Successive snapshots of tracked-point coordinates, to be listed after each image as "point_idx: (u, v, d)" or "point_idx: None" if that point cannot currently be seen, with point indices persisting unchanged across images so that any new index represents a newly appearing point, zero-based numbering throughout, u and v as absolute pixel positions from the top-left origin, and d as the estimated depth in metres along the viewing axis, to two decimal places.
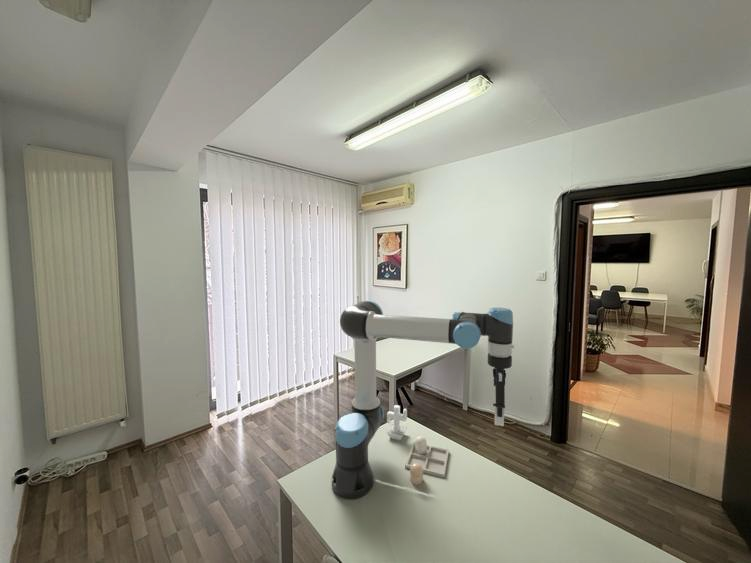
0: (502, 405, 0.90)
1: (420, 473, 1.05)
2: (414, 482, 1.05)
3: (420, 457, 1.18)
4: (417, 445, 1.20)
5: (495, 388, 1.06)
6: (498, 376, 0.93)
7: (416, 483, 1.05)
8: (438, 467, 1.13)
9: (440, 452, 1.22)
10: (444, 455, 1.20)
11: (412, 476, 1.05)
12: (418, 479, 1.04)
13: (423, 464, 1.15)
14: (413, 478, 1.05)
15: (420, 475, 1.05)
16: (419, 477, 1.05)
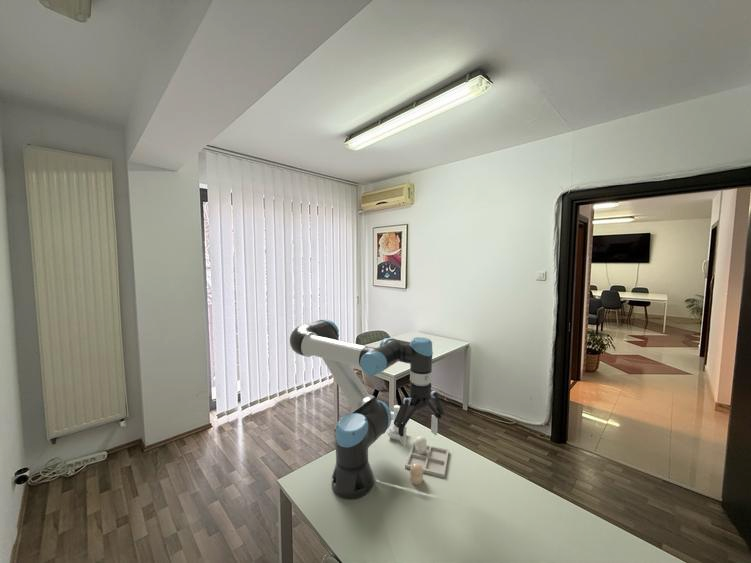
0: (396, 424, 1.00)
1: (420, 473, 1.05)
2: (414, 482, 1.05)
3: (420, 457, 1.18)
4: (417, 445, 1.20)
5: (432, 416, 1.09)
6: (403, 399, 1.02)
7: (416, 483, 1.05)
8: (438, 467, 1.13)
9: (440, 452, 1.22)
10: (444, 455, 1.20)
11: (412, 476, 1.05)
12: (418, 479, 1.04)
13: (423, 464, 1.15)
14: (413, 478, 1.05)
15: (420, 475, 1.05)
16: (419, 477, 1.05)
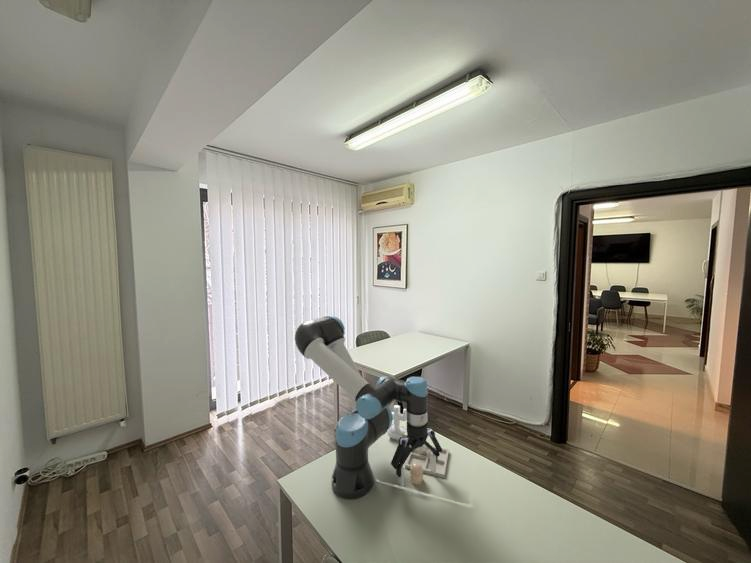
0: (393, 465, 1.01)
1: (420, 473, 1.05)
2: (414, 482, 1.05)
3: (420, 457, 1.18)
4: None
5: (431, 454, 1.09)
6: (400, 439, 1.03)
7: (416, 483, 1.05)
8: (438, 467, 1.13)
9: (440, 452, 1.22)
10: (444, 455, 1.20)
11: (412, 476, 1.05)
12: (418, 479, 1.04)
13: (423, 464, 1.15)
14: (413, 478, 1.05)
15: (420, 475, 1.05)
16: (419, 477, 1.05)
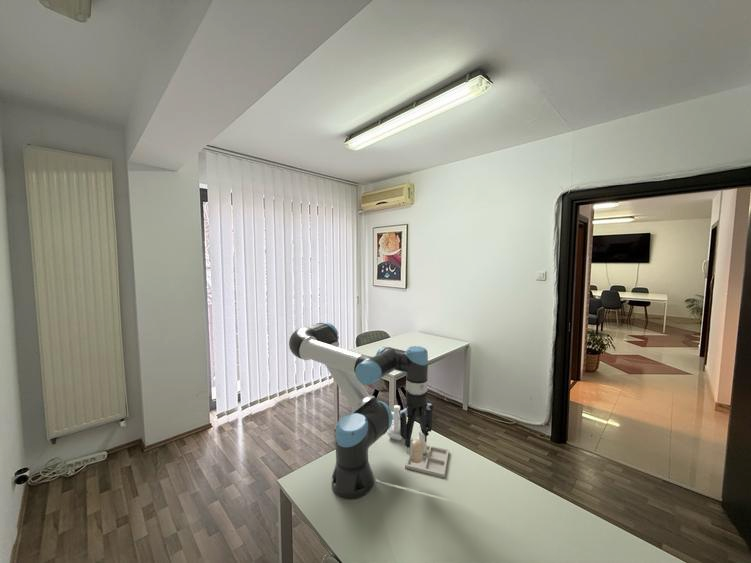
0: (403, 436, 1.02)
1: (420, 449, 1.04)
2: (413, 458, 1.04)
3: None
4: None
5: (420, 433, 1.07)
6: (399, 412, 1.02)
7: (416, 459, 1.04)
8: (438, 467, 1.13)
9: (440, 452, 1.22)
10: (444, 455, 1.20)
11: None
12: (418, 455, 1.04)
13: (423, 464, 1.15)
14: None
15: (420, 451, 1.04)
16: (419, 453, 1.04)
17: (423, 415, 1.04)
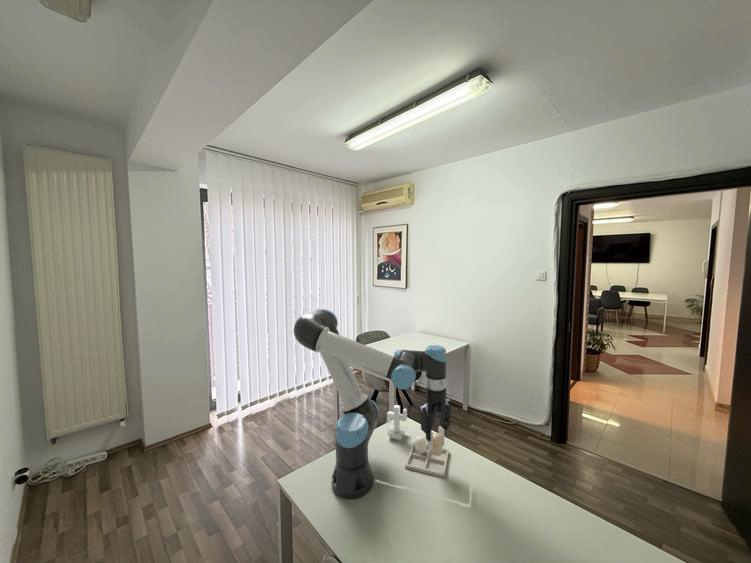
0: (424, 430, 1.09)
1: (440, 442, 1.10)
2: (434, 451, 1.10)
3: (420, 457, 1.18)
4: (417, 445, 1.20)
5: (439, 427, 1.13)
6: (420, 408, 1.09)
7: (436, 452, 1.10)
8: (438, 467, 1.13)
9: None
10: (444, 455, 1.20)
11: None
12: (438, 448, 1.10)
13: (423, 464, 1.15)
14: (433, 447, 1.10)
15: (440, 444, 1.10)
16: (439, 446, 1.10)
17: (442, 410, 1.10)
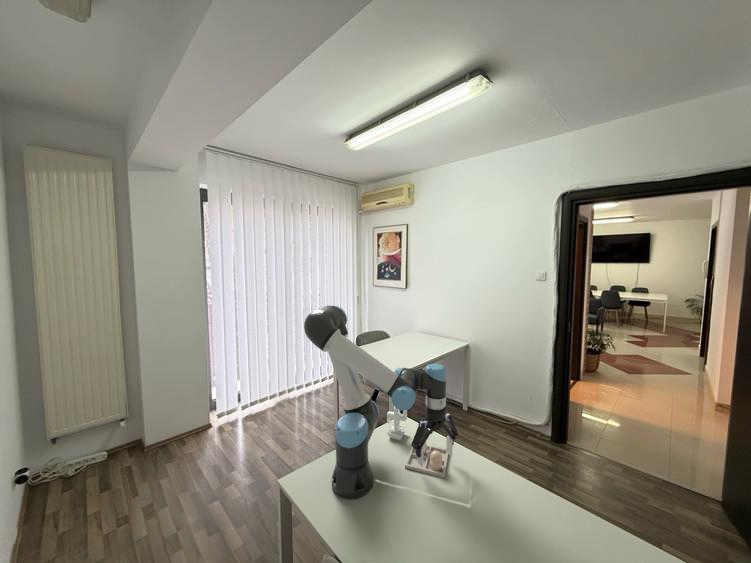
0: (414, 446, 1.07)
1: (440, 460, 1.10)
2: (434, 468, 1.10)
3: None
4: None
5: (447, 437, 1.16)
6: (419, 422, 1.09)
7: (436, 469, 1.10)
8: None
9: (440, 452, 1.22)
10: (444, 455, 1.20)
11: (432, 462, 1.11)
12: (438, 465, 1.10)
13: (423, 464, 1.15)
14: (433, 464, 1.11)
15: (440, 461, 1.10)
16: (439, 463, 1.10)
17: (444, 426, 1.11)
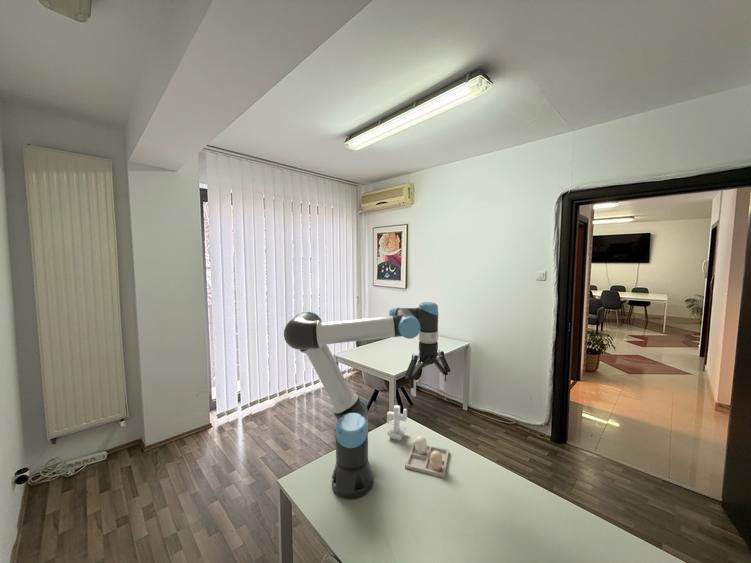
0: (407, 377, 1.14)
1: (440, 460, 1.10)
2: (434, 468, 1.10)
3: (420, 457, 1.18)
4: (417, 445, 1.20)
5: (440, 374, 1.22)
6: (412, 355, 1.16)
7: (436, 469, 1.10)
8: None
9: (440, 452, 1.22)
10: (444, 455, 1.20)
11: (432, 462, 1.11)
12: (438, 465, 1.10)
13: (423, 464, 1.15)
14: (433, 464, 1.11)
15: (440, 461, 1.10)
16: (439, 463, 1.10)
17: (436, 361, 1.18)
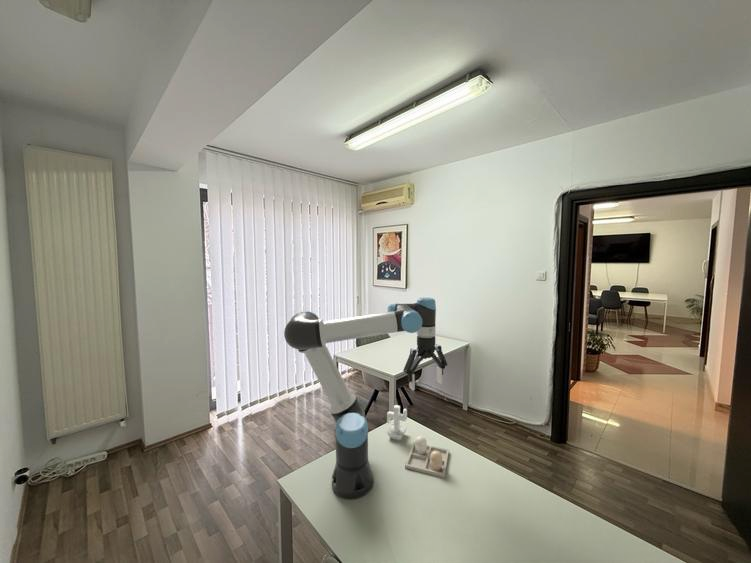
0: (405, 371, 1.16)
1: (440, 460, 1.10)
2: (434, 468, 1.10)
3: (420, 457, 1.18)
4: (417, 445, 1.20)
5: (437, 367, 1.24)
6: (411, 350, 1.18)
7: (436, 469, 1.10)
8: None
9: (440, 452, 1.22)
10: (444, 455, 1.20)
11: (432, 462, 1.11)
12: (438, 465, 1.10)
13: (423, 464, 1.15)
14: (433, 464, 1.11)
15: (440, 461, 1.10)
16: (439, 463, 1.10)
17: (434, 355, 1.20)
